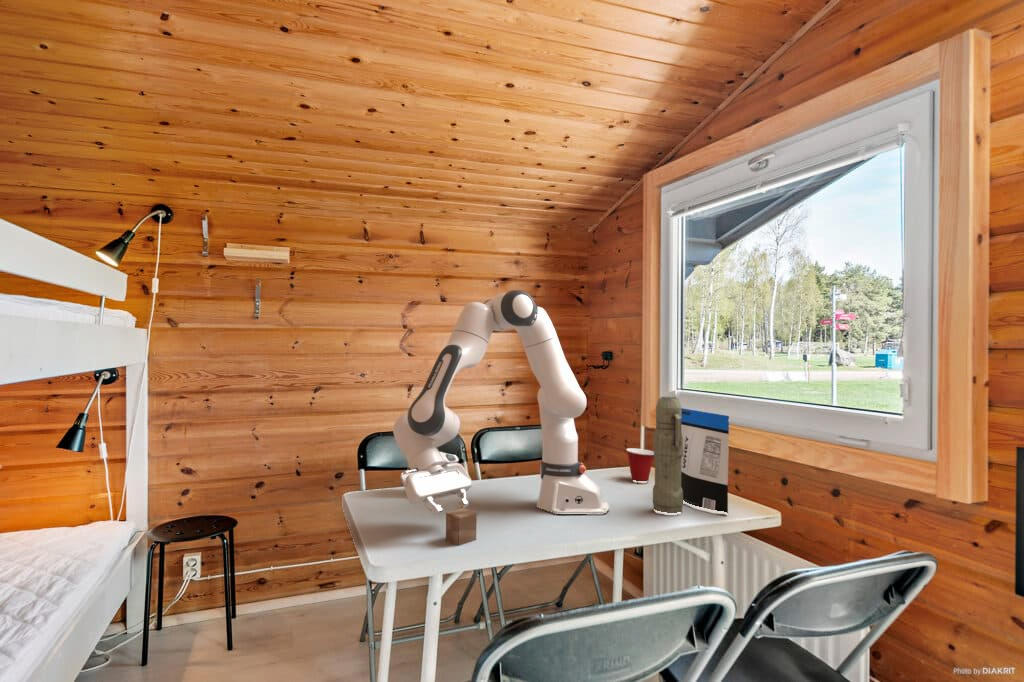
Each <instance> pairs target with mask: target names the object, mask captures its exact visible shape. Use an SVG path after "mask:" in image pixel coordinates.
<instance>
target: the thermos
mask: <svg viewBox="0 0 1024 682" xmlns="http://www.w3.org/2000/svg"><path fill="white" fill-rule="evenodd" d="M655 405H656V406H655V424H656V426H655V431H654V433H653V452H654V485H653V487H652V505H653V507H652V509H653V508H654V509H655V510H657V511H661V512H667V513H677V512H681V511H682V512H683V505H684V504H683V490H682V487H681V458H682V456H683V436H682V433H681V425H682V419H681V408H682V404H681V401H680V399H679V398H677V396H676V397H675V396H661V397H658V399H657V401H656V404H655Z"/></svg>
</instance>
